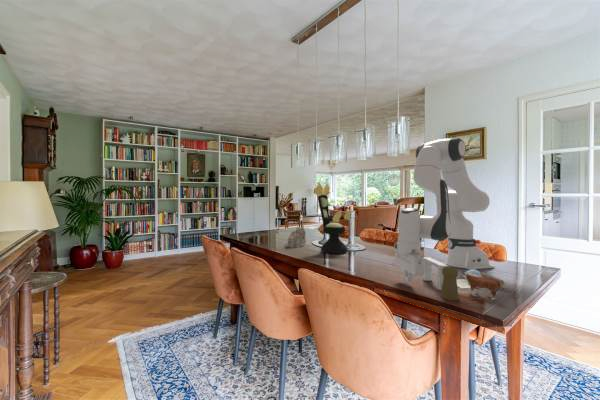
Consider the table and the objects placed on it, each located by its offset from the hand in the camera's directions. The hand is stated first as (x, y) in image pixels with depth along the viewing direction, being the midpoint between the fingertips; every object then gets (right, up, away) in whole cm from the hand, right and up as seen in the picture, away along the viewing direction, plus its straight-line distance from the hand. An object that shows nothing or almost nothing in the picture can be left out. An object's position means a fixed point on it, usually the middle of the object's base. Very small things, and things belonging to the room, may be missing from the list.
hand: (408, 280), depth 127 cm
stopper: (+35, -2, +2) cm, 35 cm away
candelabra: (-25, 0, +69) cm, 73 cm away
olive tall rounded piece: (+10, -2, -14) cm, 18 cm away
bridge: (+11, -2, +1) cm, 11 cm away
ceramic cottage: (-48, +1, +92) cm, 104 cm away
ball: (+28, +1, +2) cm, 28 cm away
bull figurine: (+22, -2, -13) cm, 25 cm away
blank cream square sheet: (+25, -2, +2) cm, 25 cm away
